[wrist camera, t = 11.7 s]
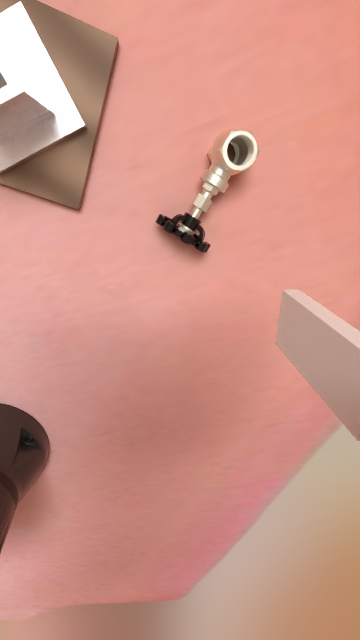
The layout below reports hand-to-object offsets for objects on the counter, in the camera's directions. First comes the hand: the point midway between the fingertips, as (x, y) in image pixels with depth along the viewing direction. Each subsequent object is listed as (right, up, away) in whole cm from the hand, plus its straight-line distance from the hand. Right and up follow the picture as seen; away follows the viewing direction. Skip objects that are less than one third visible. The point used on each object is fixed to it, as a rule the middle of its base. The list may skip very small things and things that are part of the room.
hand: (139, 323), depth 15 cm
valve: (+5, +16, +24) cm, 29 cm away
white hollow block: (-14, +21, +17) cm, 31 cm away
